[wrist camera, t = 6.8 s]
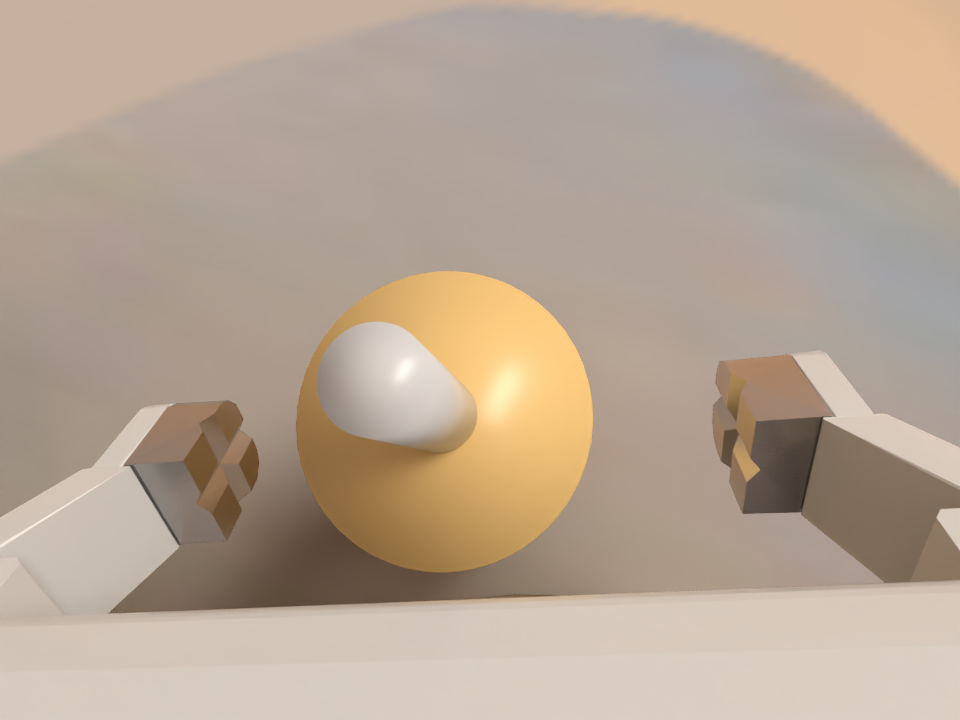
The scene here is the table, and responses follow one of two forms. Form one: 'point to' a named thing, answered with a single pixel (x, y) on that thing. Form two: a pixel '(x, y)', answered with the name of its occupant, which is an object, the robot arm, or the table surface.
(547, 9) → the table surface
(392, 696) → the robot arm
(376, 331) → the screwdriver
